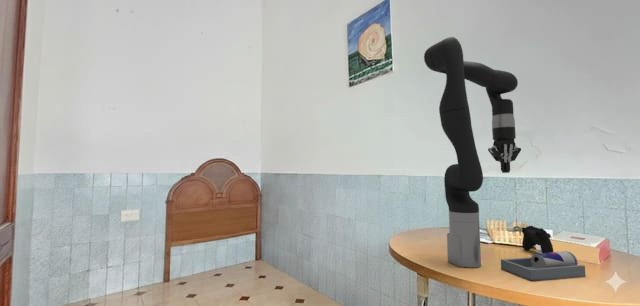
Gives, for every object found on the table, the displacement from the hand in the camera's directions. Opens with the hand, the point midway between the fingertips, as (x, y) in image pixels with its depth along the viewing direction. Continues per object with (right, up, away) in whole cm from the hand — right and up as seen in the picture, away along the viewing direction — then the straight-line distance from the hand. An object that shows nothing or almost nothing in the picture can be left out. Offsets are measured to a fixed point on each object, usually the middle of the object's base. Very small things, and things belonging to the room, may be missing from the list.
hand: (505, 172), depth 116 cm
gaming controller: (+11, -30, -2) cm, 32 cm away
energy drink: (+7, -26, -21) cm, 34 cm away
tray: (-3, -29, -23) cm, 37 cm away
